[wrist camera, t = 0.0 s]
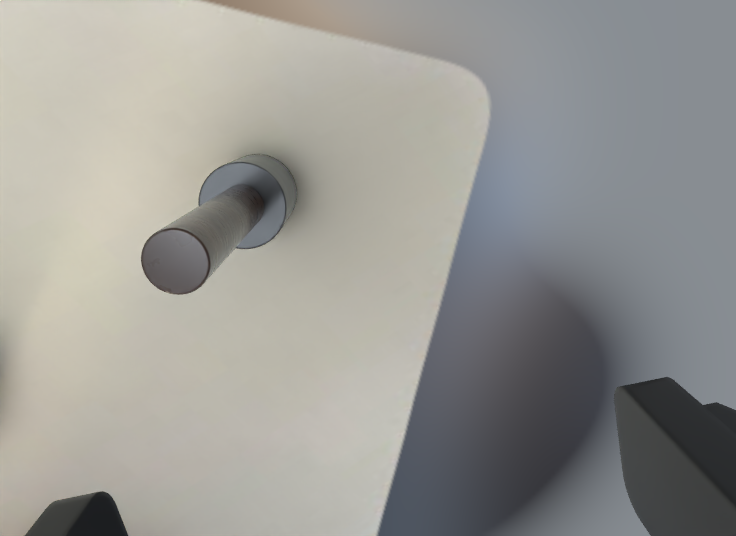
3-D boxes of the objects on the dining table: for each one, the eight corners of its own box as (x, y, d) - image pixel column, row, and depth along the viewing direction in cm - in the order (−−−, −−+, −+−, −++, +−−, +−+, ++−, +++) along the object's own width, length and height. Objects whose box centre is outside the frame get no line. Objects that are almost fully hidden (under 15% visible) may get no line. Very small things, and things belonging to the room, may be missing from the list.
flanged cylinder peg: (211, 163, 33) (85, 210, 18) (286, 146, 33) (222, 179, 18) (233, 236, 35) (131, 339, 19) (305, 220, 34) (260, 311, 19)
